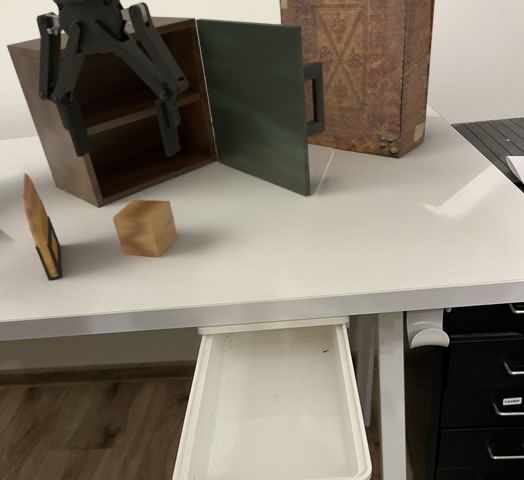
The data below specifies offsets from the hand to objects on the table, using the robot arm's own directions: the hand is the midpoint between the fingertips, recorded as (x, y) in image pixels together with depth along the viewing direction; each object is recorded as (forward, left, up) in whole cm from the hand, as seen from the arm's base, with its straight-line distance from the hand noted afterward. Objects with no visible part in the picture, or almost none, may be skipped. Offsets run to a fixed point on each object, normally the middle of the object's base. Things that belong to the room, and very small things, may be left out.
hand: (128, 153), depth 73 cm
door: (+9, +30, -14) cm, 34 cm away
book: (+21, +46, -14) cm, 52 cm away
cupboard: (-18, +28, -14) cm, 36 cm away
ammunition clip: (-13, -6, -14) cm, 20 cm away
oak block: (0, 0, -14) cm, 14 cm away
